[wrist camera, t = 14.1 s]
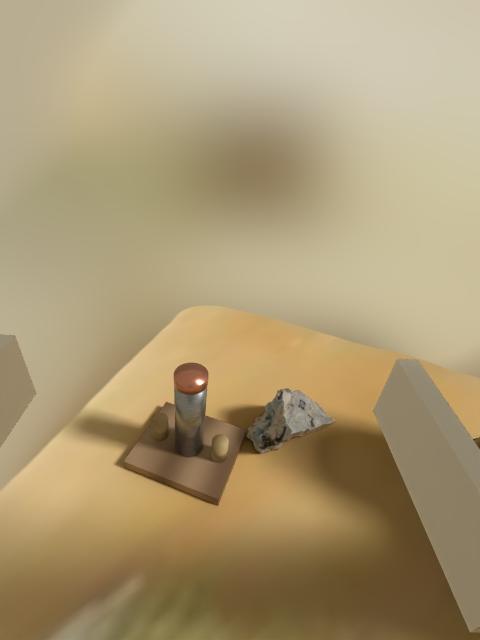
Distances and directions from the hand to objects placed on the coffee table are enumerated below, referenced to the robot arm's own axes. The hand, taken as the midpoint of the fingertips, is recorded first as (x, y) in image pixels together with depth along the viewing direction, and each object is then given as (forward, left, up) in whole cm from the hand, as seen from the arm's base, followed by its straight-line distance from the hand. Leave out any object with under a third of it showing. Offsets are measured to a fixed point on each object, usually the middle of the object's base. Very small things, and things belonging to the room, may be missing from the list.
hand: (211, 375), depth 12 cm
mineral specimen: (-3, -23, -30) cm, 37 cm away
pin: (+8, -15, -28) cm, 33 cm away
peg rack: (+8, -15, -29) cm, 34 cm away
